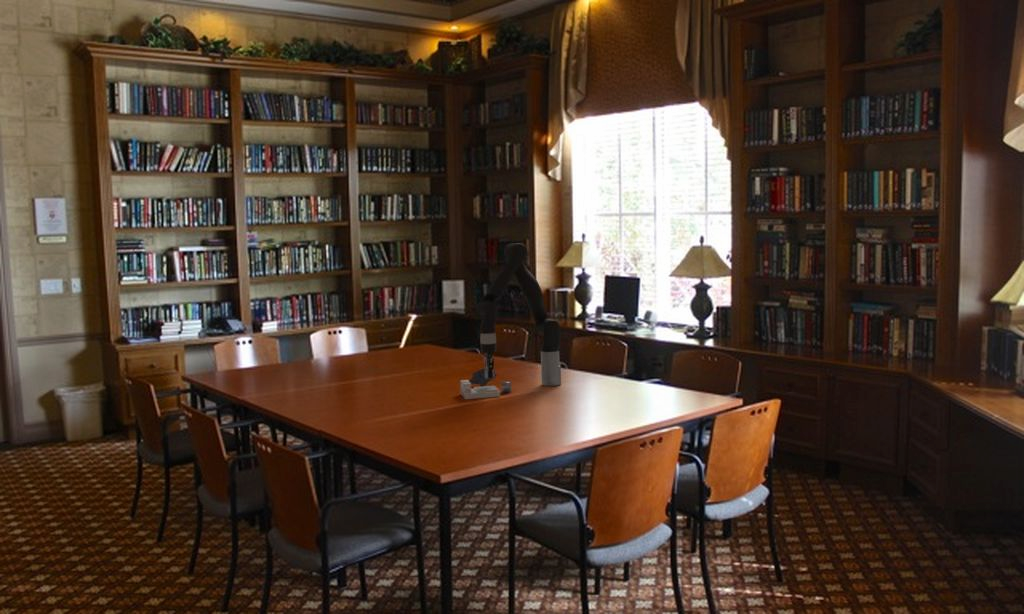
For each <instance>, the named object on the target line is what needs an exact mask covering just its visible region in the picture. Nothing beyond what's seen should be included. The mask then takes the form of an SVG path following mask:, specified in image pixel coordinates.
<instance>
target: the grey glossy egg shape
mask: <svg viewBox="0 0 1024 614" xmlns="http://www.w3.org/2000/svg"><path fill="white" fill-rule="evenodd" d="M484 368H485V367H484ZM487 369H488V368H485V379H493V378H494V371H495V369H494V370H493V378H488V370H487ZM493 380H494V379H493Z"/></svg>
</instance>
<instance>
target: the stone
mask: <svg viewBox="0 0 1024 614" xmlns="http://www.w3.org/2000/svg"><path fill="white" fill-rule="evenodd" d="M471 375H472V378H471V379H470V378H469V379H468V381H469V382H470V383H471V385H472V384H474V385H480V387H482V386H488V385H487V384H488V383H489V382H491V381H494V380H495V379H496V378H497V376H498V375H497V374H496V372H495V370H494V378H493V379H485V367H484V368H481V369H480V370H477V371H474V373H472V374H471Z"/></svg>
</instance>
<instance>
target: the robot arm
mask: <svg viewBox="0 0 1024 614" xmlns="http://www.w3.org/2000/svg"><path fill="white" fill-rule="evenodd" d="M503 255H504V258H505V260H506V262H507V263H506V265H504V267H503V269H501V270H500V272H499V273H498V274H497V275H496V276H495V278H494V279H493V280H492V282H491V285H490V287H489V288H488V291H487V292H486V293H485V294H484V295H483V297H481V299H480V300H479V302H478V304H477V313H479V315H481V316H484V319H483V320H482V321H481V322H480V336H479V337H480V352H481V353H483V354H484V355H483V360H484V362H483V363H484V368H488V369H487V370H488V378H493V370H494V371H495V368H494V367H495V366H494V365H495V364H494V362H495V359H494V357H495V356H494V355H493V353H496V352H497V336H496V321H497V316H498V307H497V304H496V301H499V300H500V299H502V296H503V295H504V293H505V291H506V289H507V287H508V285H509V283H510V282H511V280H512V278H513V276H514V277H515V279H516V281H517V283H518V286H519V288H520V291H521V293H522V295H523V297H524V299H525V301H526V304H527V305H528V308H529V310H530V313H531V314H532V317H533V321H534V322H535V326H536V329H537V331H538V334H540V335H541V336H542V337H543V343H542V344H541V345H540V368H541V369H540V370H541V371H540V372H541V374H540V375H541V385H542V386H544V387H554V386H561V385H562V370H561V364H560V346H561V326H560V323H559V322H558V320H556V319H551V318H550V316H549V315H548V312H547V311H546V308H545V304H544V302H545V301H544V300H545V299H544V294H543V290H542V288H541V286H540V284H539V281H538V280H537V278H536V277H535V276H534V275H533V274H532V273H531V272H530V270H528V267H527V266H526V265H525V262H524V261H525V260H526V258H527V256H528V247H527V246H526V245H525V244H523V243H520V242H519V243H518V242H517V243H516V242H515V243H509V244H507V245H506V246H505V247H504V249H503Z"/></svg>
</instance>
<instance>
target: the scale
mask: <svg viewBox="0 0 1024 614" xmlns="http://www.w3.org/2000/svg"><path fill="white" fill-rule="evenodd" d="M460 395H461V396H462V398H463V399H464V400H474V399H486V398H487V399H488V398H497V397H498V398H500V397H501V391H500V390H499V388H498V387H496V386H495V385H485V386H474V387H473V388H472V384H471V383H470V382H469V379H461V380H460Z"/></svg>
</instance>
